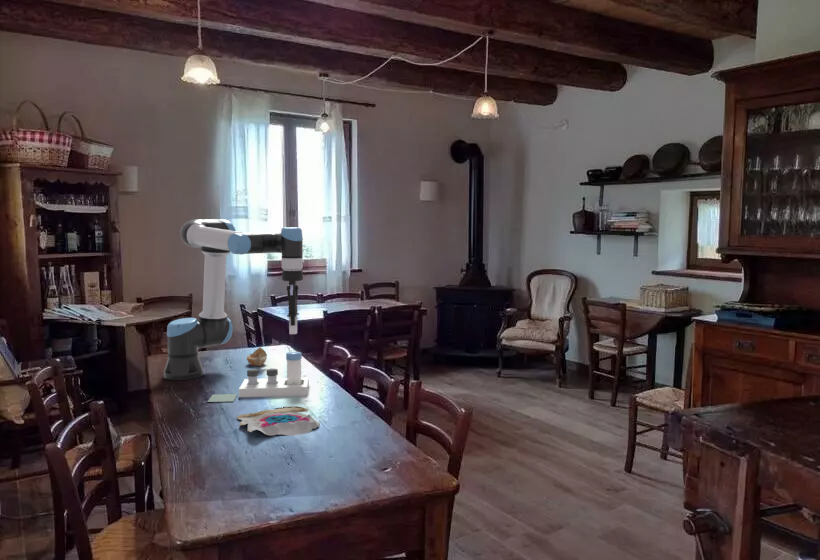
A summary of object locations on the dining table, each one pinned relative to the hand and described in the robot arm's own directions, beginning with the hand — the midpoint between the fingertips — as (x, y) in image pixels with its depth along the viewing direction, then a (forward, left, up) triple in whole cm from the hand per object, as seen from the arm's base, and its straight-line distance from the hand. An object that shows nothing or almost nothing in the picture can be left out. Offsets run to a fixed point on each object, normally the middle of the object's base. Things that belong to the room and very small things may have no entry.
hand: (293, 333), depth 222 cm
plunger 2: (0, -8, -20) cm, 22 cm away
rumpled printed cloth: (+32, -3, -23) cm, 40 cm away
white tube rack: (0, -7, -23) cm, 24 cm away
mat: (+5, -25, -23) cm, 34 cm away
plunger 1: (0, -15, -20) cm, 25 cm away
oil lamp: (-48, -20, -23) cm, 57 cm away
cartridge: (0, 0, -22) cm, 22 cm away
